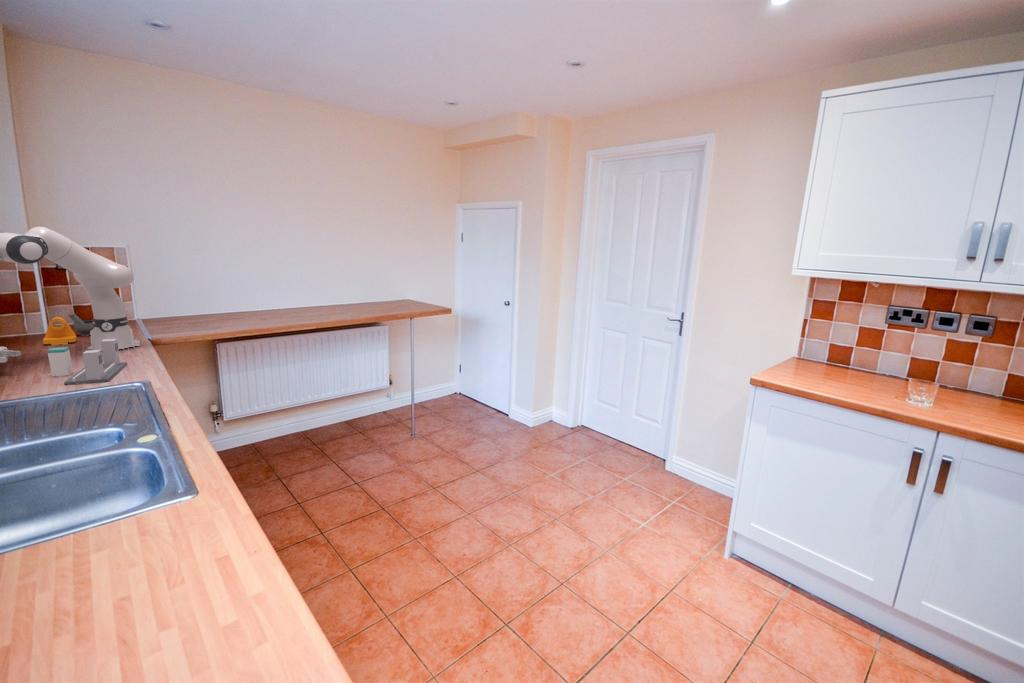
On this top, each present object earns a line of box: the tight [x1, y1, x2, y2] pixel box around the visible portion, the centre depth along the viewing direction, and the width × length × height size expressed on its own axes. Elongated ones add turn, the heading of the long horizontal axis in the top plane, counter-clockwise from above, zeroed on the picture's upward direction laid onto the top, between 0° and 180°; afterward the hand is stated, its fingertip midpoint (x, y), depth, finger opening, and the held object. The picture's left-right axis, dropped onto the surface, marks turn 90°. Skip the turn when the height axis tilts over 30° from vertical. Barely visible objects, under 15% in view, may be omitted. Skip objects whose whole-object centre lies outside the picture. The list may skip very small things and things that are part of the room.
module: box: [47, 346, 74, 378], centre depth 172 cm, size 5×5×10 cm
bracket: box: [42, 316, 77, 346], centre depth 217 cm, size 11×7×12 cm, turn 128°
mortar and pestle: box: [67, 312, 94, 337], centre depth 234 cm, size 11×9×12 cm
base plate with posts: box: [63, 339, 128, 386], centre depth 174 cm, size 25×12×11 cm, turn 27°
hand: (13, 356), depth 165 cm, fingers open, 8 cm apart
